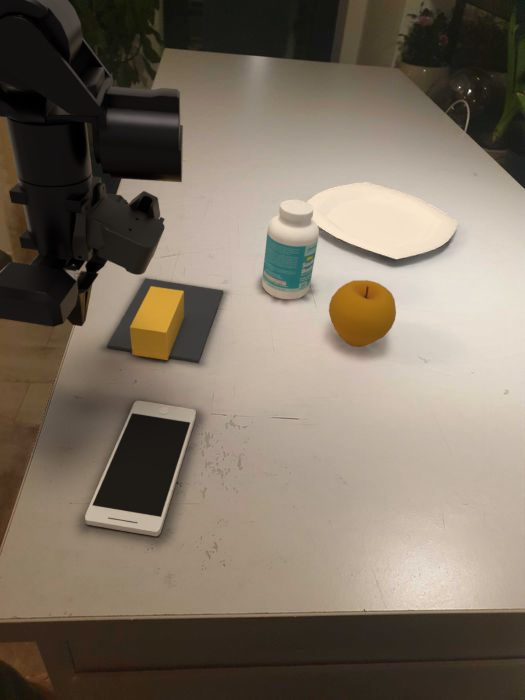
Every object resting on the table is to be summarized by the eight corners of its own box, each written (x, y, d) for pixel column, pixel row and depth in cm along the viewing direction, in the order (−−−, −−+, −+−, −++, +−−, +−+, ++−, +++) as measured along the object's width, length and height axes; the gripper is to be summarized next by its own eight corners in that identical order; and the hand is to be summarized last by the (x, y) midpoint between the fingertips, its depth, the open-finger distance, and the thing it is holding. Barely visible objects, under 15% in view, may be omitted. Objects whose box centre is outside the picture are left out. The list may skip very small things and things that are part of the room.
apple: (352, 312, 78) (365, 260, 72) (400, 343, 74) (418, 291, 68) (310, 334, 73) (320, 280, 68) (358, 369, 69) (374, 315, 63)
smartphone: (196, 414, 60) (196, 408, 60) (159, 537, 49) (159, 531, 48) (135, 404, 60) (135, 399, 60) (84, 524, 49) (82, 519, 48)
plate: (398, 280, 86) (401, 270, 85) (278, 217, 99) (279, 207, 98) (473, 232, 102) (477, 223, 101) (361, 183, 115) (363, 174, 114)
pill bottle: (306, 305, 79) (321, 223, 70) (257, 297, 79) (266, 214, 70) (310, 278, 84) (325, 199, 75) (265, 271, 85) (274, 191, 76)
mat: (107, 348, 67) (106, 345, 67) (145, 280, 80) (145, 278, 79) (198, 363, 67) (198, 360, 67) (223, 293, 79) (223, 290, 79)
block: (129, 327, 63) (150, 285, 70) (132, 354, 66) (152, 312, 73) (166, 332, 63) (184, 290, 70) (167, 360, 66) (184, 317, 73)
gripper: (115, 243, 35) (129, 403, 45) (180, 146, 49) (179, 284, 60) (-47, 218, 35) (3, 383, 46) (63, 129, 50) (83, 270, 60)
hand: (78, 323), depth 53 cm, fingers closed
